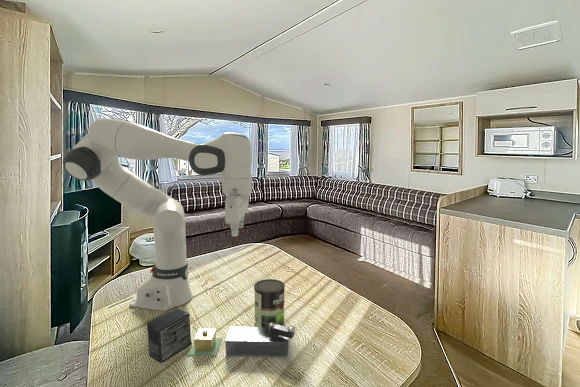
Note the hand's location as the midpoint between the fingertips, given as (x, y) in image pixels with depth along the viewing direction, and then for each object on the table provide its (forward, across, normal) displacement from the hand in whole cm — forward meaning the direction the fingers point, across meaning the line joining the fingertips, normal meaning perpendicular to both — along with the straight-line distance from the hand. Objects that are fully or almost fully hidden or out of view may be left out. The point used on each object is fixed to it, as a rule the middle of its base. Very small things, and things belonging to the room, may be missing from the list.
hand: (237, 231), depth 97 cm
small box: (+34, -9, +19) cm, 40 cm away
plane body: (+34, -8, -7) cm, 36 cm away
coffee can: (+34, +6, -9) cm, 36 cm away
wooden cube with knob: (+34, -7, +9) cm, 36 cm away
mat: (+34, -7, +9) cm, 36 cm away
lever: (+29, -9, -14) cm, 33 cm away
